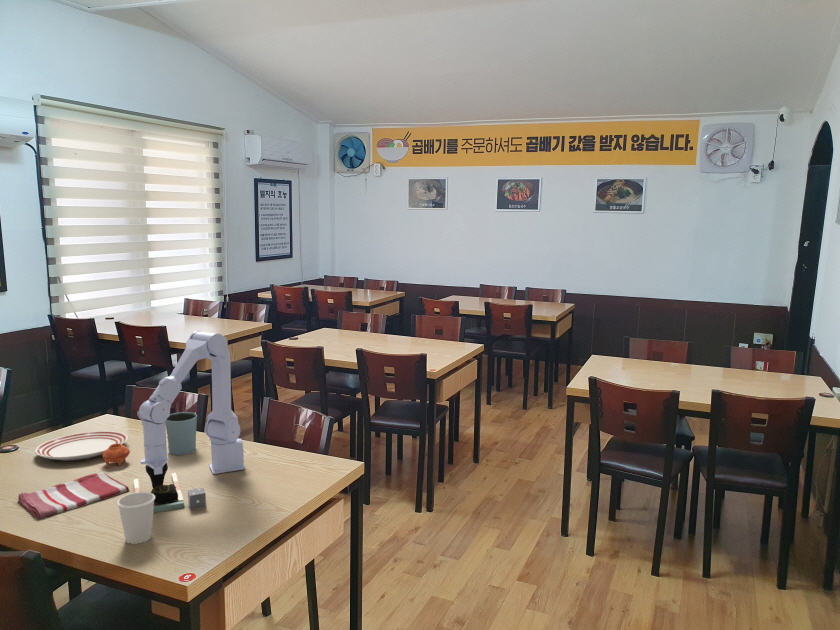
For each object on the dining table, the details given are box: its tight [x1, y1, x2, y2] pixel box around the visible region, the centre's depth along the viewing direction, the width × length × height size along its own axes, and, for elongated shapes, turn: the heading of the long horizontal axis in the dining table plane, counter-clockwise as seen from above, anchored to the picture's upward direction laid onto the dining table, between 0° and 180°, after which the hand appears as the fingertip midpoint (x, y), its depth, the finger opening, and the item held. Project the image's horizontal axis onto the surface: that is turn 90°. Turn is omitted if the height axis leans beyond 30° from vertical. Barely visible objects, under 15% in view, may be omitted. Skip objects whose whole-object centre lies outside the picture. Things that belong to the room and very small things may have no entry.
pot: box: [102, 444, 131, 467], centre depth 199 cm, size 8×8×7 cm
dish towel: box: [17, 471, 130, 520], centre depth 175 cm, size 17×23×3 cm
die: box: [187, 487, 207, 511], centre depth 170 cm, size 4×4×4 cm
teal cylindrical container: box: [165, 411, 198, 456], centre depth 210 cm, size 10×10×12 cm
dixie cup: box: [116, 491, 155, 545], centre depth 151 cm, size 8×8×10 cm
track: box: [133, 472, 185, 514], centre depth 176 cm, size 12×23×1 cm, turn 26°
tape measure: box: [150, 483, 178, 505], centre depth 172 cm, size 7×7×4 cm
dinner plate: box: [34, 430, 129, 462], centre depth 210 cm, size 27×27×3 cm
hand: (157, 490), depth 176 cm, fingers closed
